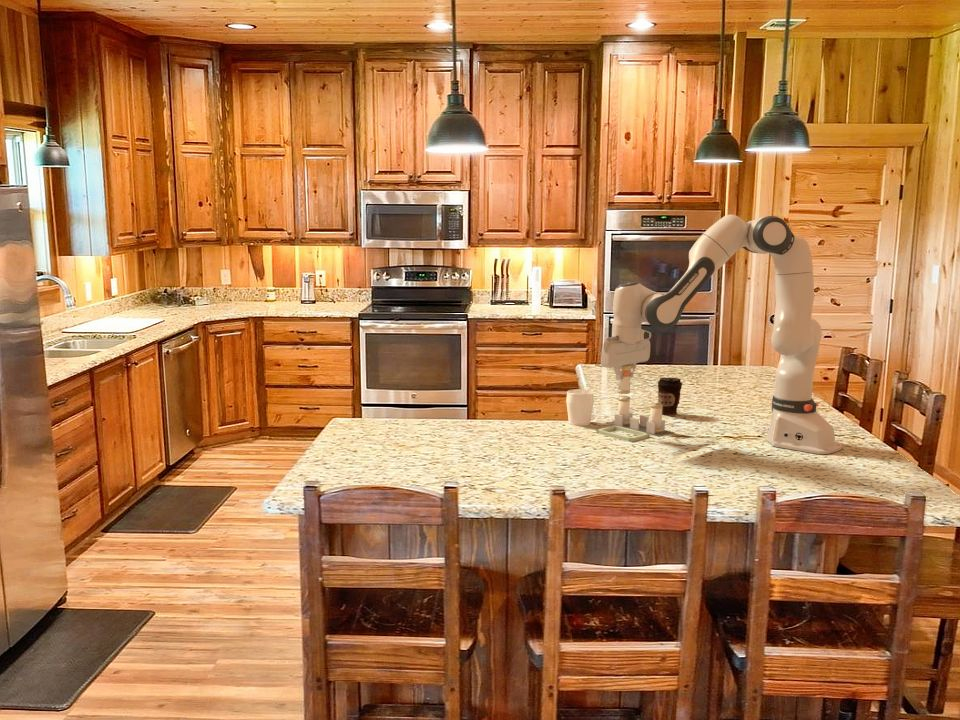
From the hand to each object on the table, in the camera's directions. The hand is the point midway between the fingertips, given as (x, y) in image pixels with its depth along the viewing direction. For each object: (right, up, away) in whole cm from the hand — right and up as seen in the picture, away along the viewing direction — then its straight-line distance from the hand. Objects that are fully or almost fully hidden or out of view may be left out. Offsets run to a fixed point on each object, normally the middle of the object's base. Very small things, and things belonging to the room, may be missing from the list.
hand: (624, 378), depth 268 cm
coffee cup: (+21, -14, +36) cm, 44 cm away
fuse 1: (+2, -15, +17) cm, 23 cm away
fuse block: (+7, -18, +12) cm, 23 cm away
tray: (0, -19, +3) cm, 20 cm away
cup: (-12, -17, +18) cm, 27 cm away
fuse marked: (0, -5, +1) cm, 5 cm away
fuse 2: (+11, -17, +7) cm, 22 cm away
